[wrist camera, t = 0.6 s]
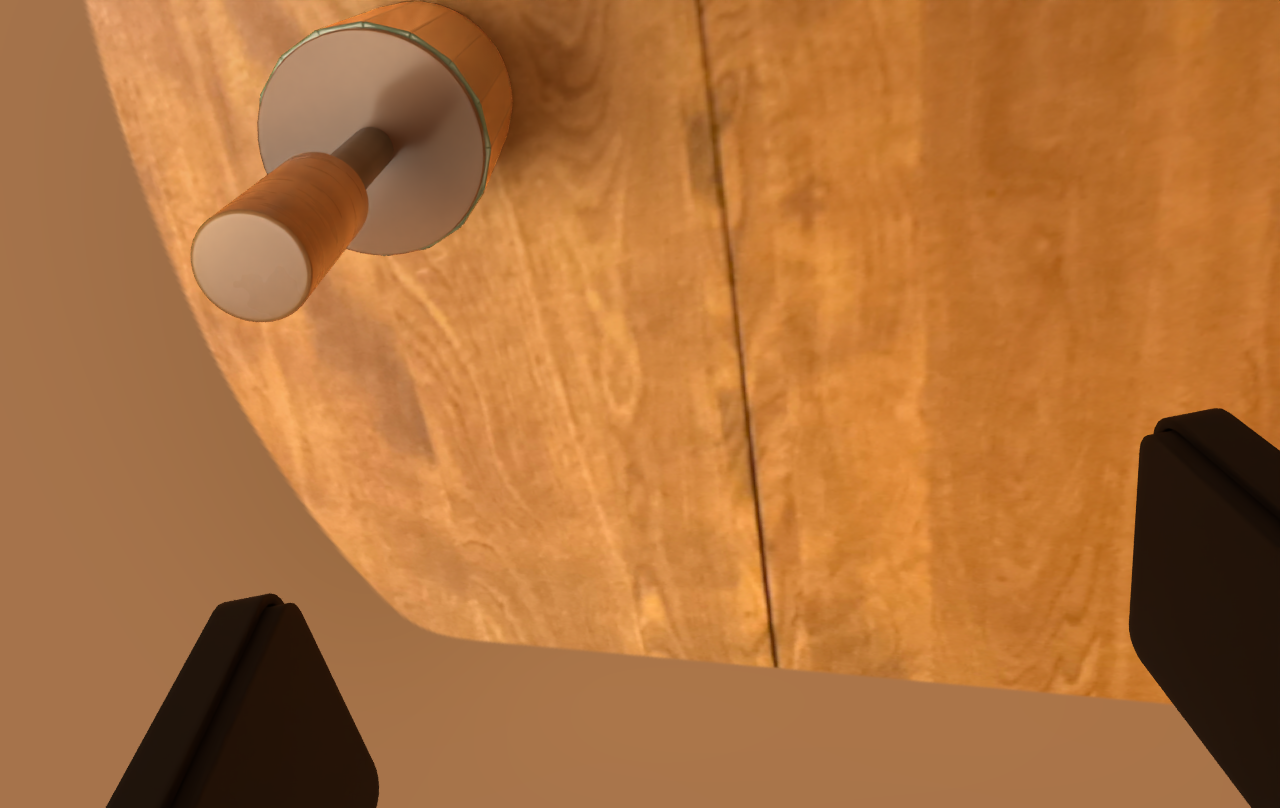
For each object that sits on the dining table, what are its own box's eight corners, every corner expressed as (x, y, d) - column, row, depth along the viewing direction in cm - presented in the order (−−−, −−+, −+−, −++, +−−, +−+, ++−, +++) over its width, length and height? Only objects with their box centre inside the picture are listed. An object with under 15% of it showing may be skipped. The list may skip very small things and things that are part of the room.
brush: (294, 71, 33) (-13, 217, 16) (436, -32, 32) (262, 9, 15) (406, 218, 36) (241, 474, 19) (541, 128, 35) (494, 315, 18)
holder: (297, 67, 34) (208, 109, 26) (441, -37, 33) (392, -28, 25) (410, 214, 37) (359, 293, 29) (546, 124, 35) (533, 180, 27)
